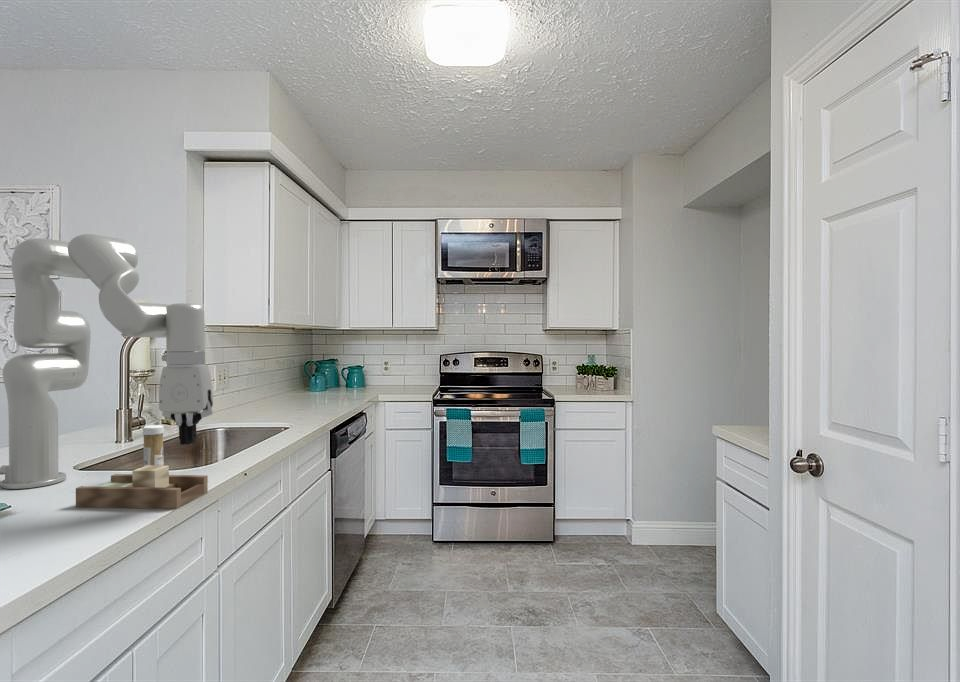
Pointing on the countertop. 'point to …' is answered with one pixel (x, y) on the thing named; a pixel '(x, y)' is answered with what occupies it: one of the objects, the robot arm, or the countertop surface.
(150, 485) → the beech block
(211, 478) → the countertop surface
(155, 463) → the sprinkles bottle
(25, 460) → the robot arm
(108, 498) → the brown wooden tray
